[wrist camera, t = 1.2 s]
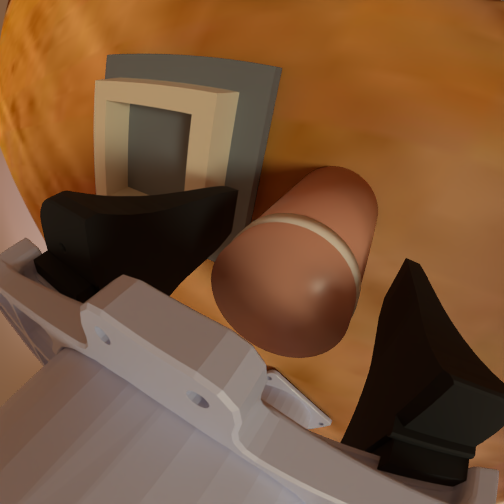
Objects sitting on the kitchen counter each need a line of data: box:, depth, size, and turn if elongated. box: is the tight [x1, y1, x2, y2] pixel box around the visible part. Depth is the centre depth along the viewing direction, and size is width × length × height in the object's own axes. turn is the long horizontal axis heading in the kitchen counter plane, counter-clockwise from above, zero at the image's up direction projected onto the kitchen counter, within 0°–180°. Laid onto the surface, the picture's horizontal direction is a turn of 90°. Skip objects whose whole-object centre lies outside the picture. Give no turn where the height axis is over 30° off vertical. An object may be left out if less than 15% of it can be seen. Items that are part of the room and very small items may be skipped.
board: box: [94, 54, 282, 262], centre depth 17 cm, size 12×12×3 cm
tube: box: [211, 166, 378, 358], centre depth 12 cm, size 4×4×8 cm
